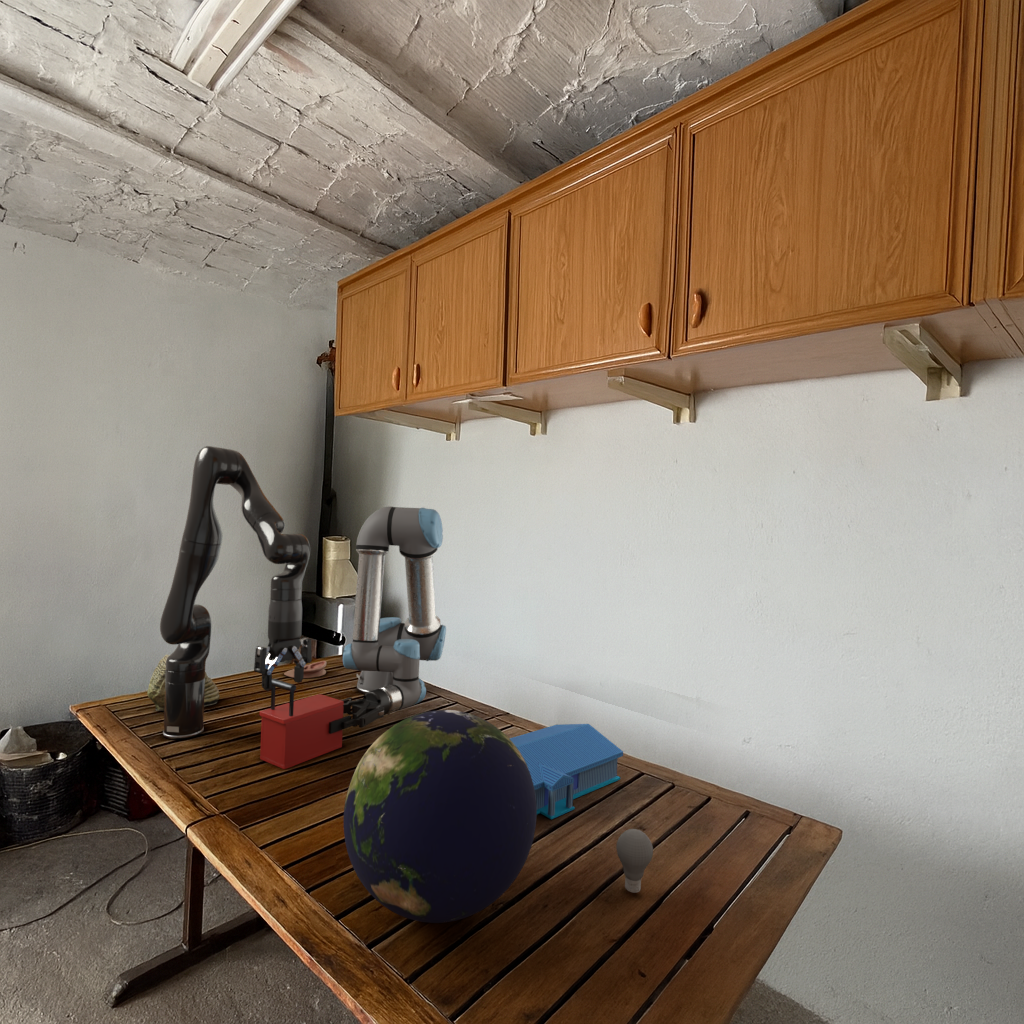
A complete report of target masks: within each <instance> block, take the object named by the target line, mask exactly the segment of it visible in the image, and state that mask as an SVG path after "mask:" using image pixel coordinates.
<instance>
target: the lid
mask: <svg viewBox="0 0 1024 1024" xmlns="http://www.w3.org/2000/svg"><path fill="white" fill-rule="evenodd" d="M276 688H278V689H282V690H285V691H288V692H289V701H288V702H286V703H283V704H280V705H277V706H276ZM296 690H297V685H296V684H293V683H290V682H286V681H283V680H279V679H276V678H272V689H271V690H270V708H266V709H263V710H260V711H259V716H260V717H261V718H262V717H265V718H268V719H271V720H273V721H276V722H279V723H282V724H286V723H289V722H292V721H296V720H299V719H302V718H305V717H308V716H311V715H314V714H317V713H320V712H324V711H327V710H330V709H333V708H336V707H339V706H342V705H343V704H344V701H341V700H342V699H337V698H334V697H331V696H328V695H325V694H322V693H318V694H314V695H310V696H308V697H304V698H301V699H297V700H295V692H296Z"/></svg>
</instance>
